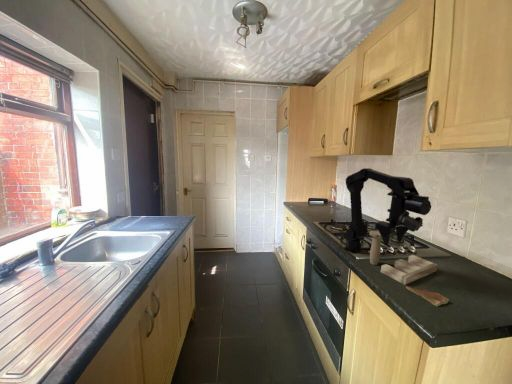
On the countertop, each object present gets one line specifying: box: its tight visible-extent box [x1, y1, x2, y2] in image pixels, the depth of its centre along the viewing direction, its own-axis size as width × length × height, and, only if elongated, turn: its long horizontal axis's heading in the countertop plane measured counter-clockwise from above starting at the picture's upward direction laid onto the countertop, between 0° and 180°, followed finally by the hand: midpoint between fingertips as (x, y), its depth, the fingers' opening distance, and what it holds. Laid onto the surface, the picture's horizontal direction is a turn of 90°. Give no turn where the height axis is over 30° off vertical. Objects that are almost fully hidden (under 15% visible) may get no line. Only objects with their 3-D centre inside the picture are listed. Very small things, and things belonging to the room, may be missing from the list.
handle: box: [369, 230, 383, 266], centre depth 98 cm, size 5×6×15 cm
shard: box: [405, 285, 450, 307], centre depth 78 cm, size 11×8×2 cm
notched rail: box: [380, 254, 438, 286], centre depth 93 cm, size 10×24×3 cm, turn 117°
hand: (392, 243), depth 91 cm, fingers open, 9 cm apart
